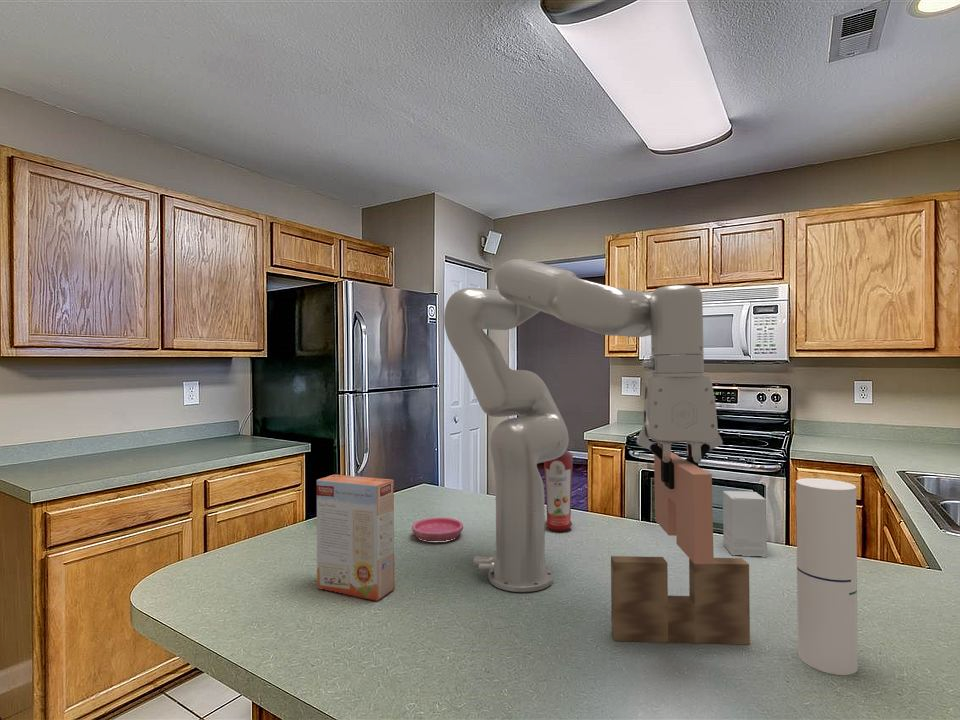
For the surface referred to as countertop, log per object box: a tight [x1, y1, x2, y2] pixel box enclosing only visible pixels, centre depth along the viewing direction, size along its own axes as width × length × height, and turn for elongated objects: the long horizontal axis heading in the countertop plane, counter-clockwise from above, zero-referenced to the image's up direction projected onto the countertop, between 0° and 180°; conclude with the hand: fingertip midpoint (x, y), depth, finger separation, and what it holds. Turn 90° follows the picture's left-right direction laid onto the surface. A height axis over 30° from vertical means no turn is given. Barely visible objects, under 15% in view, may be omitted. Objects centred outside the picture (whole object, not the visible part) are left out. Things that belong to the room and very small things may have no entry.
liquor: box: [543, 449, 574, 533], centre depth 136 cm, size 7×7×28 cm
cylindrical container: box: [795, 477, 859, 676], centre depth 76 cm, size 7×7×25 cm
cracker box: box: [316, 474, 395, 602], centre depth 100 cm, size 14×6×21 cm, turn 65°
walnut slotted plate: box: [610, 555, 751, 645], centre depth 82 cm, size 20×2×12 cm, turn 86°
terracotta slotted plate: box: [653, 451, 715, 564], centre depth 81 cm, size 20×2×12 cm, turn 176°
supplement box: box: [722, 490, 768, 558], centre depth 119 cm, size 7×7×13 cm
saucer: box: [411, 516, 464, 541], centre depth 130 cm, size 12×12×3 cm
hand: (679, 486), depth 82 cm, fingers closed on terracotta slotted plate, 2 cm apart
